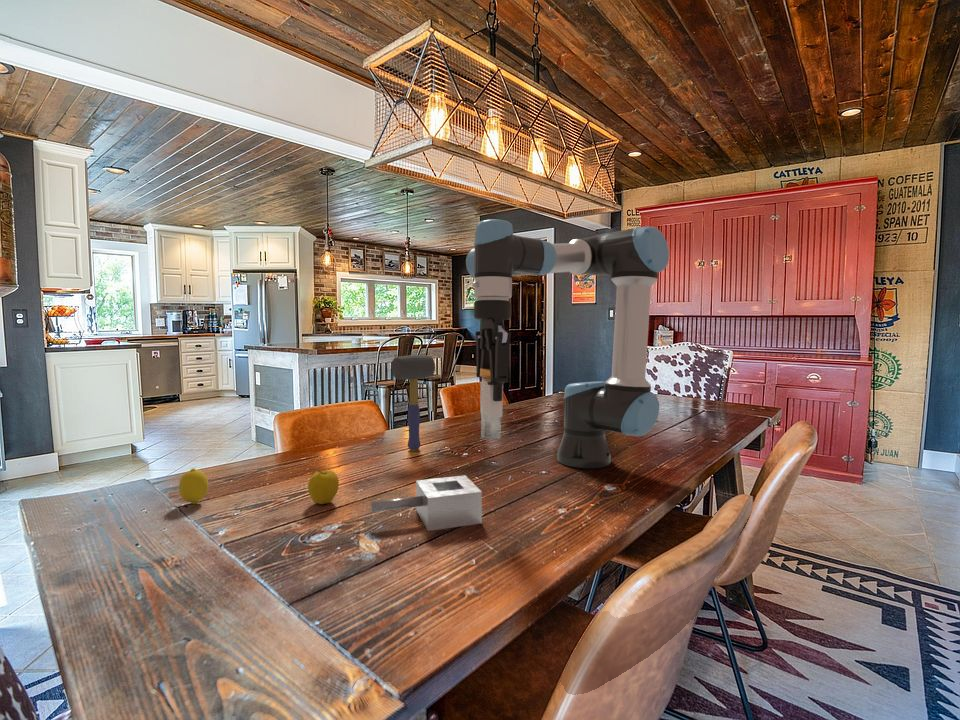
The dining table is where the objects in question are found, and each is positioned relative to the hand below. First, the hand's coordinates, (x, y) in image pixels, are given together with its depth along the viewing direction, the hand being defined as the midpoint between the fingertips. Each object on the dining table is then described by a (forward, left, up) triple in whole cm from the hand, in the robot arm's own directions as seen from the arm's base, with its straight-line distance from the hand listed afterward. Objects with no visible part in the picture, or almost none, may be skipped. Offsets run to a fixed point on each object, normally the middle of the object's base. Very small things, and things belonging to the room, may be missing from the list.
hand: (491, 414), depth 99 cm
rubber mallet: (+5, -57, -22) cm, 61 cm away
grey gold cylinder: (0, 0, -5) cm, 5 cm away
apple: (+33, -19, -22) cm, 43 cm away
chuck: (+14, -3, -21) cm, 25 cm away
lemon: (+60, -28, -22) cm, 69 cm away
